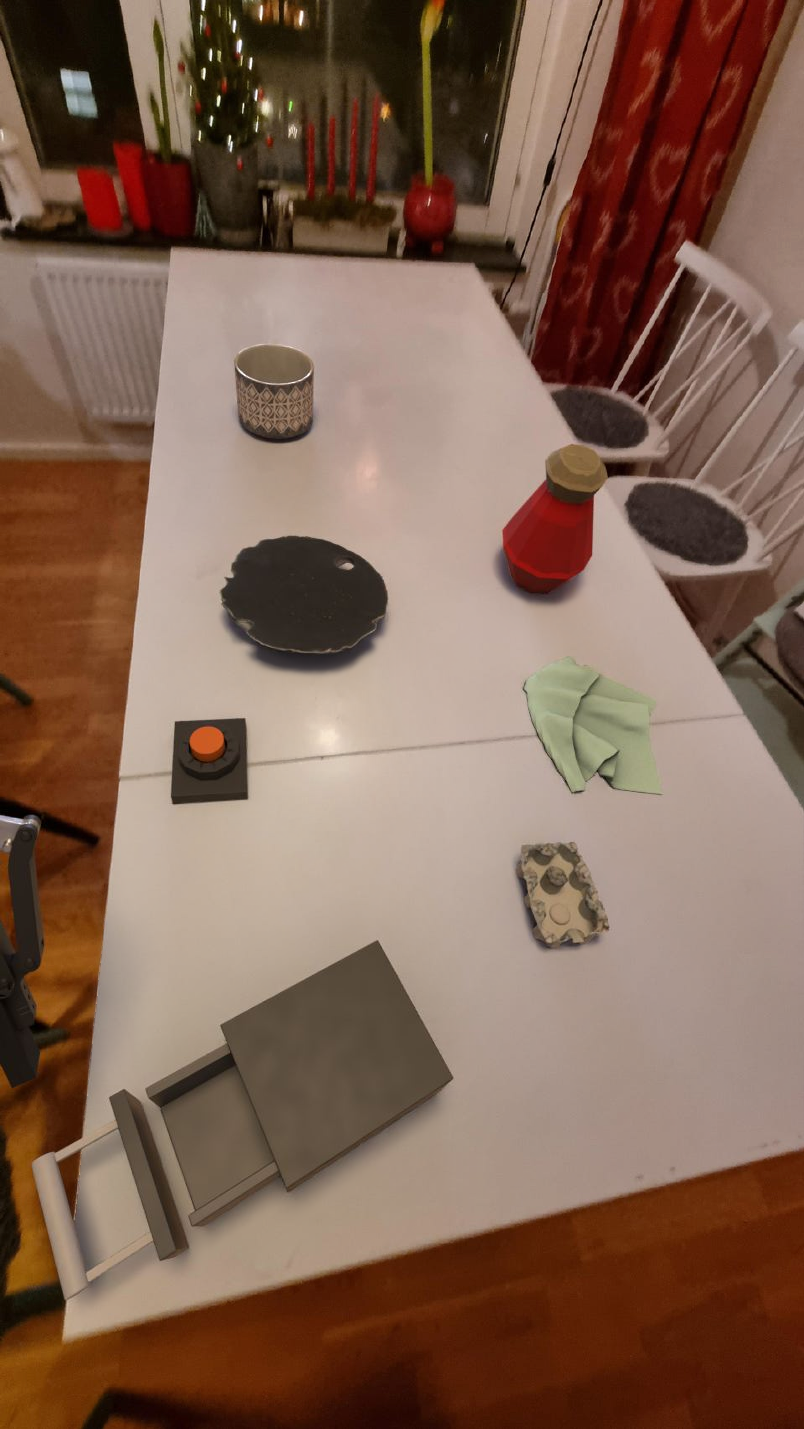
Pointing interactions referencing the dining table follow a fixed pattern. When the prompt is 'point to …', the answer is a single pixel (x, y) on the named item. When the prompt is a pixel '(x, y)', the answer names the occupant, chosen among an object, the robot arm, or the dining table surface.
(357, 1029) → the grey drawer box
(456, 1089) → the dining table surface
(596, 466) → the bottle
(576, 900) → the egg carton
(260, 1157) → the open sliding drawer
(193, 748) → the button
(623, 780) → the cloth
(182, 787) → the control block
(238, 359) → the planter
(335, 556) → the board
